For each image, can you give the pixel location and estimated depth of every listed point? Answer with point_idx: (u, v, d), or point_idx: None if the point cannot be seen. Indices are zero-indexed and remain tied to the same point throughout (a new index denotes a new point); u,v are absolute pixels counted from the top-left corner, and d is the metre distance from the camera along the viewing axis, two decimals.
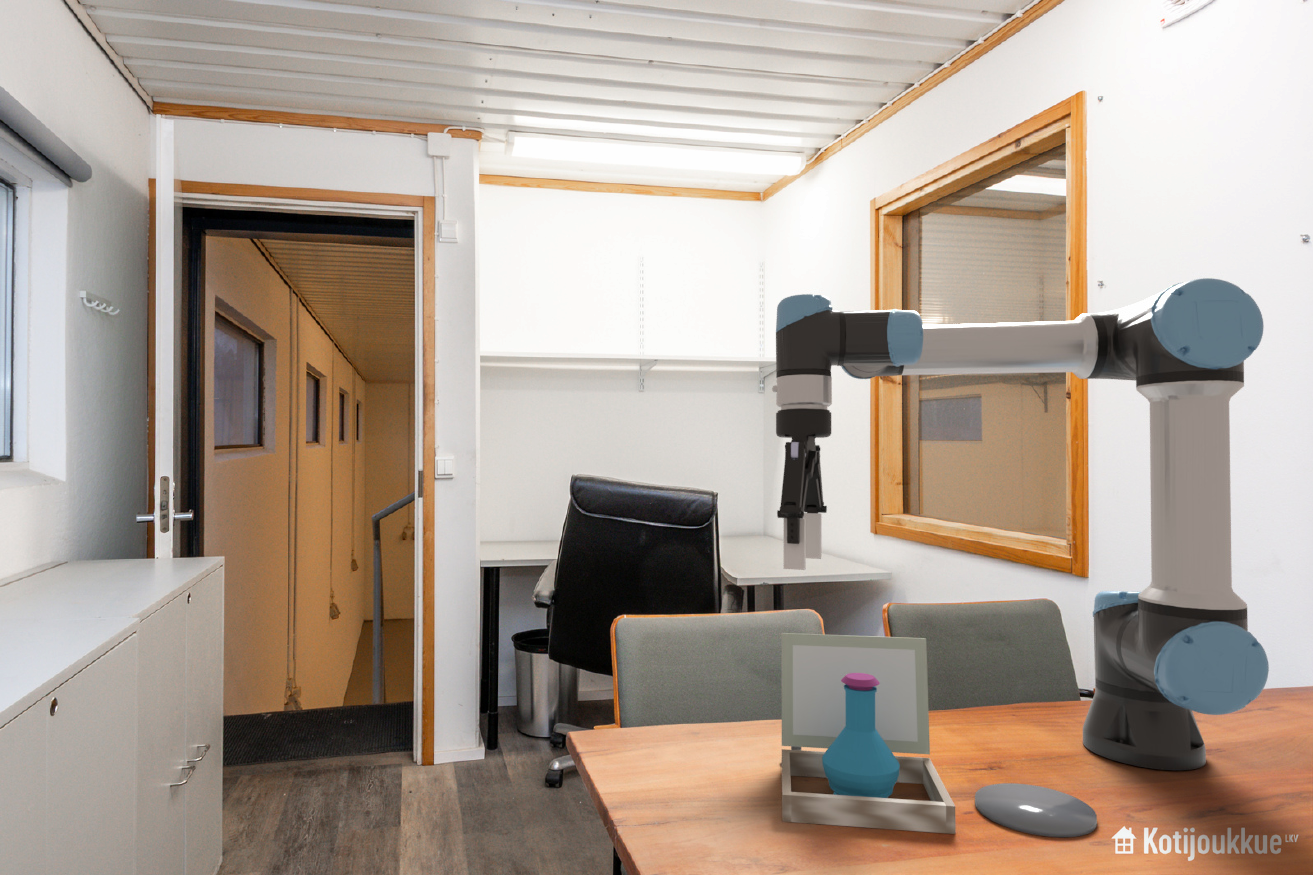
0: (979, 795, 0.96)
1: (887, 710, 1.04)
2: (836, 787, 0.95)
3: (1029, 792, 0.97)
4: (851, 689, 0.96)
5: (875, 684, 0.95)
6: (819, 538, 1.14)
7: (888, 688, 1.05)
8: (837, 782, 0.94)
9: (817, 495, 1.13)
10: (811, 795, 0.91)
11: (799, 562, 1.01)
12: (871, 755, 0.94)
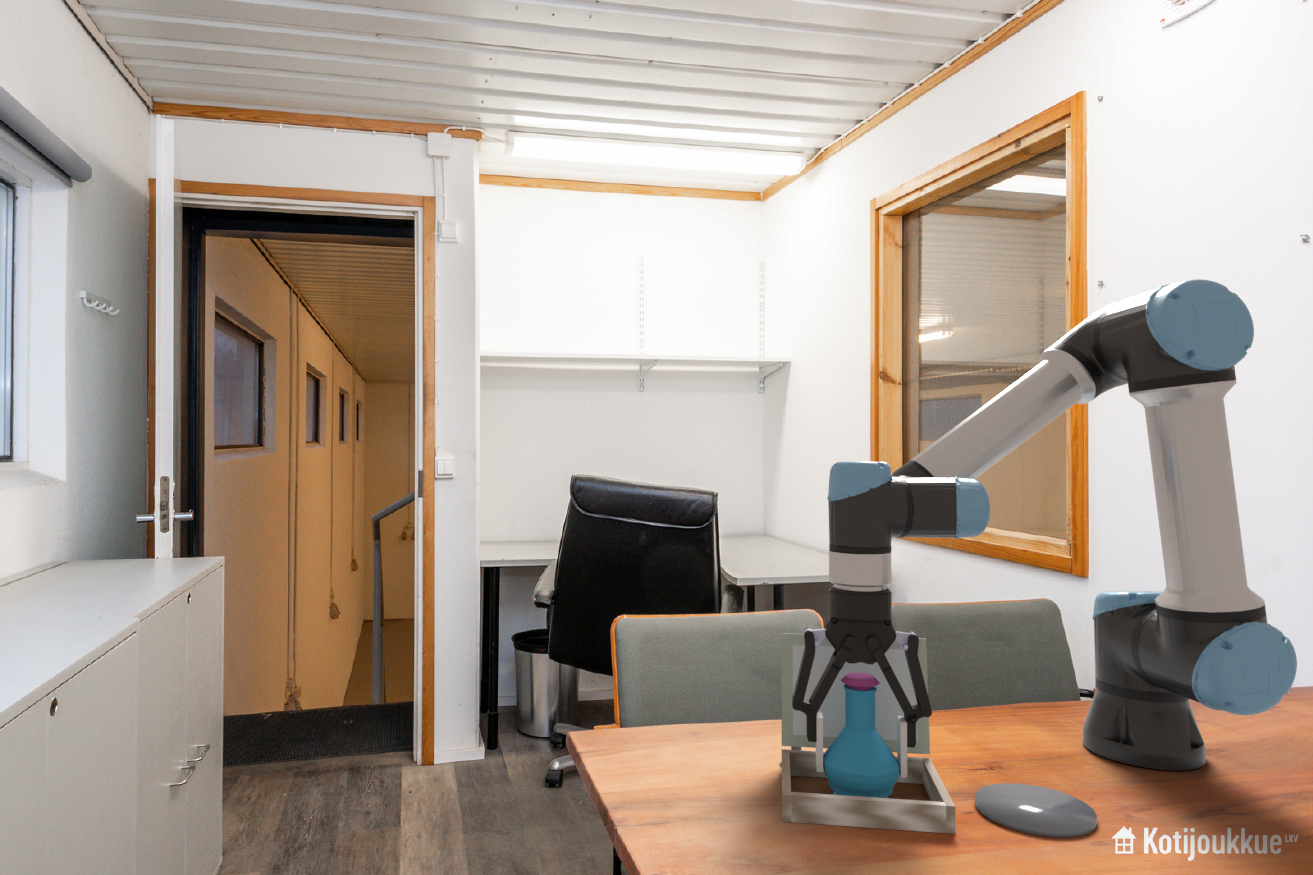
0: (979, 795, 0.96)
1: (887, 710, 1.04)
2: (836, 787, 0.95)
3: (1029, 792, 0.97)
4: (851, 689, 0.96)
5: (875, 684, 0.95)
6: (900, 752, 0.95)
7: (888, 688, 1.05)
8: (837, 782, 0.94)
9: None
10: (811, 795, 0.91)
11: (816, 762, 0.97)
12: (871, 755, 0.94)
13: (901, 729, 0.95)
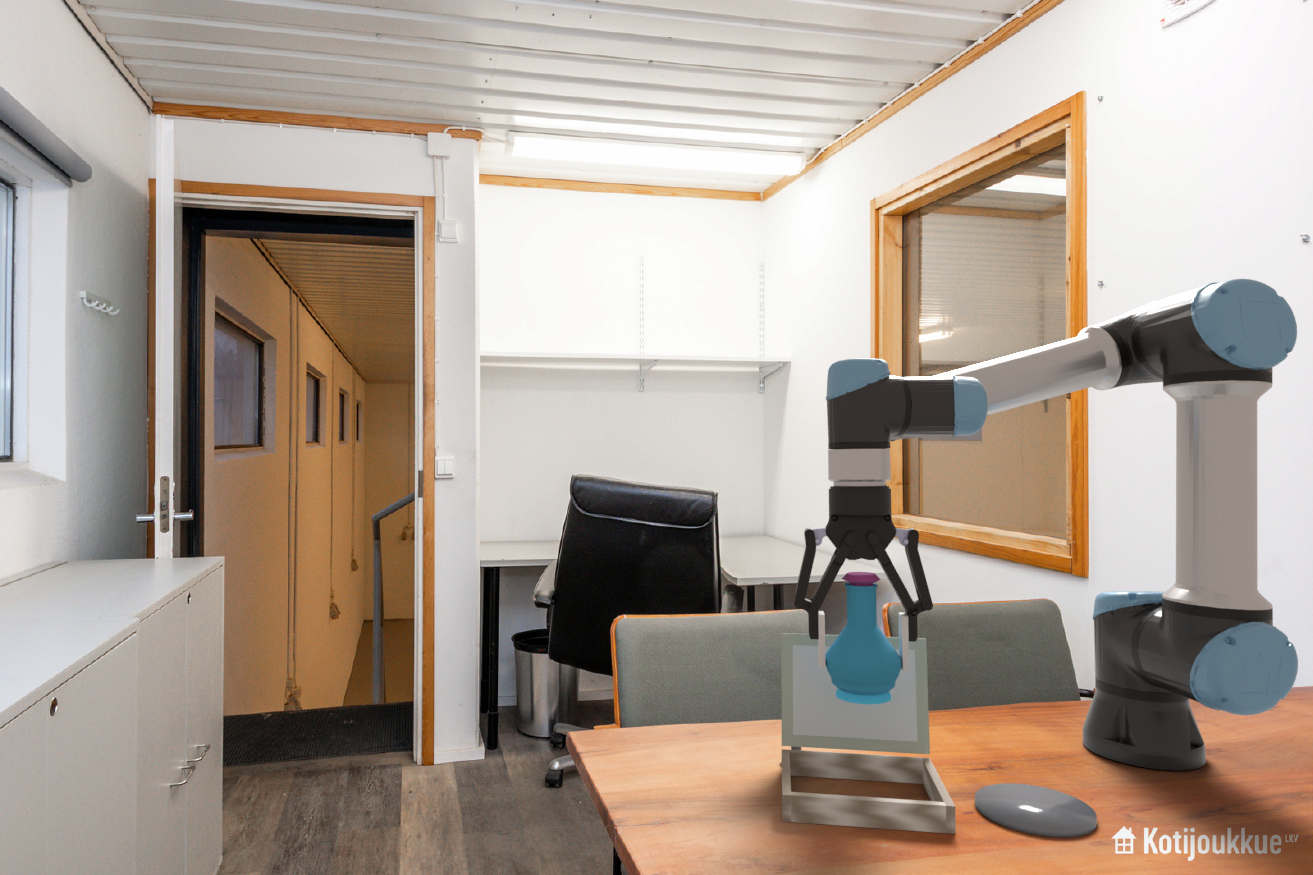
0: (979, 795, 0.96)
1: (887, 710, 1.04)
2: (839, 681, 0.95)
3: (1029, 792, 0.97)
4: (852, 585, 0.97)
5: (876, 579, 0.96)
6: (901, 645, 0.95)
7: None
8: (839, 676, 0.95)
9: (895, 589, 0.96)
10: (811, 795, 0.91)
11: None
12: (873, 648, 0.94)
13: (902, 623, 0.95)
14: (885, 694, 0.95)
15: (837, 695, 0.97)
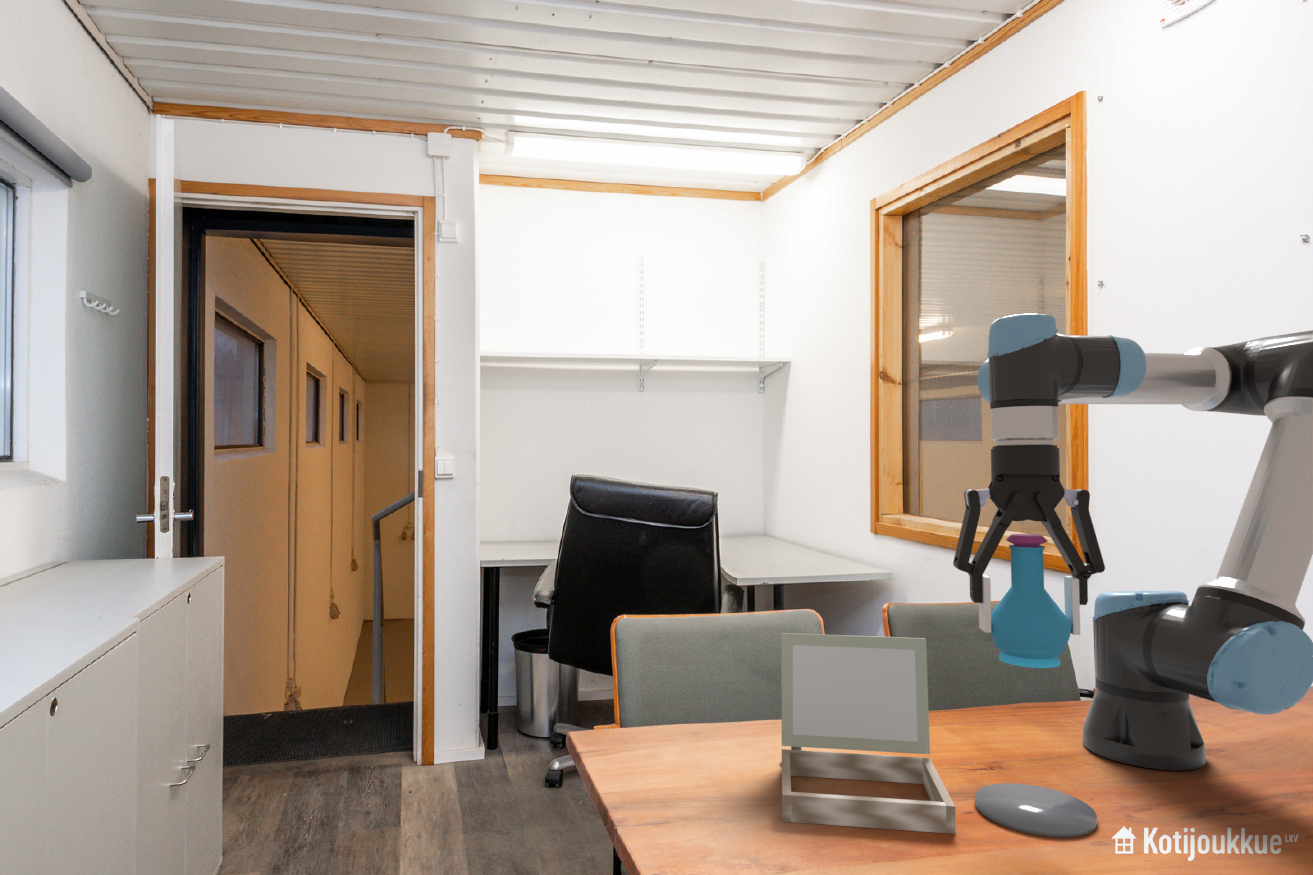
0: (979, 795, 0.96)
1: (887, 710, 1.04)
2: (1007, 645, 0.93)
3: (1029, 792, 0.97)
4: (1019, 547, 0.94)
5: (1045, 540, 0.93)
6: (1072, 609, 0.93)
7: (888, 688, 1.05)
8: (1009, 639, 0.92)
9: (1065, 551, 0.93)
10: (811, 795, 0.91)
11: (983, 623, 0.95)
12: (1044, 610, 0.91)
13: (1073, 586, 0.93)
14: (1055, 658, 0.92)
15: (1003, 659, 0.94)
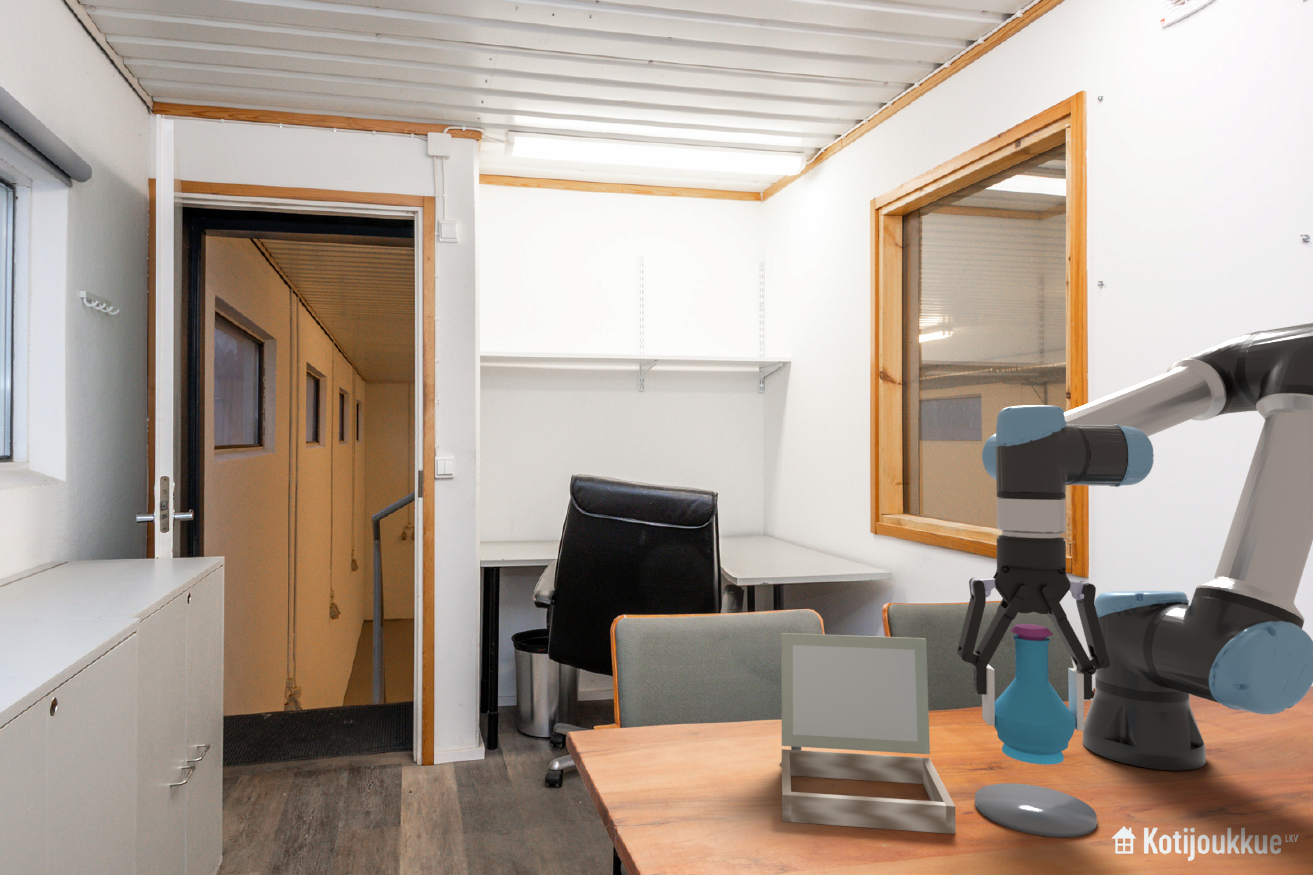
0: (979, 795, 0.96)
1: (887, 710, 1.04)
2: (1011, 739, 0.92)
3: (1029, 792, 0.97)
4: (1024, 639, 0.93)
5: (1050, 634, 0.93)
6: (1076, 704, 0.92)
7: (888, 688, 1.05)
8: (1013, 734, 0.91)
9: (1070, 645, 0.93)
10: (811, 795, 0.91)
11: (986, 715, 0.94)
12: (1049, 706, 0.91)
13: (1077, 680, 0.92)
14: (1059, 754, 0.92)
15: (1006, 753, 0.93)
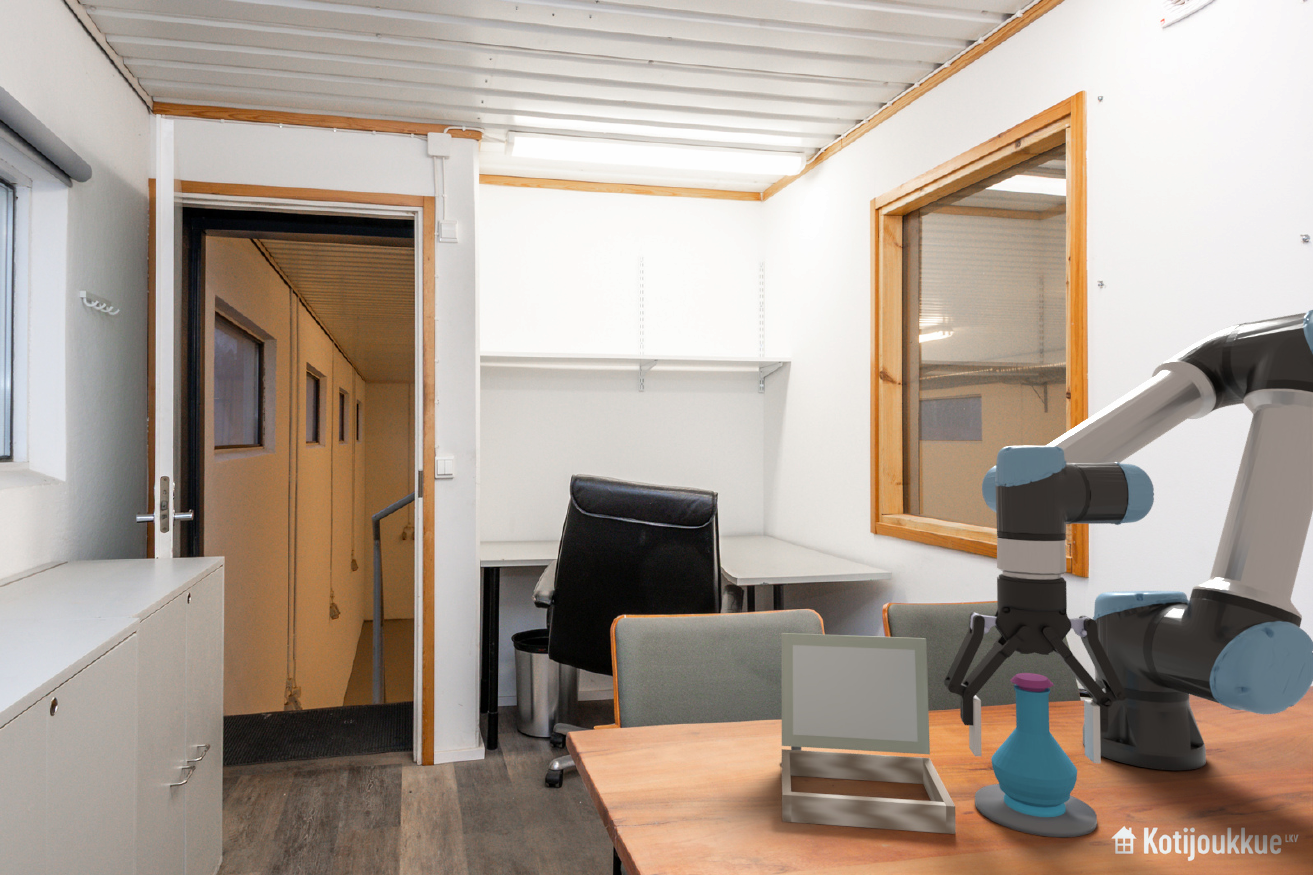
0: (979, 795, 0.96)
1: (887, 710, 1.04)
2: (1012, 792, 0.92)
3: None
4: (1024, 690, 0.93)
5: (1050, 685, 0.92)
6: (1092, 736, 0.92)
7: (888, 688, 1.05)
8: (1014, 787, 0.91)
9: (1082, 681, 0.92)
10: (811, 795, 0.91)
11: (973, 746, 0.94)
12: (1050, 758, 0.90)
13: (1093, 713, 0.92)
14: (1061, 805, 0.91)
15: (1008, 804, 0.93)
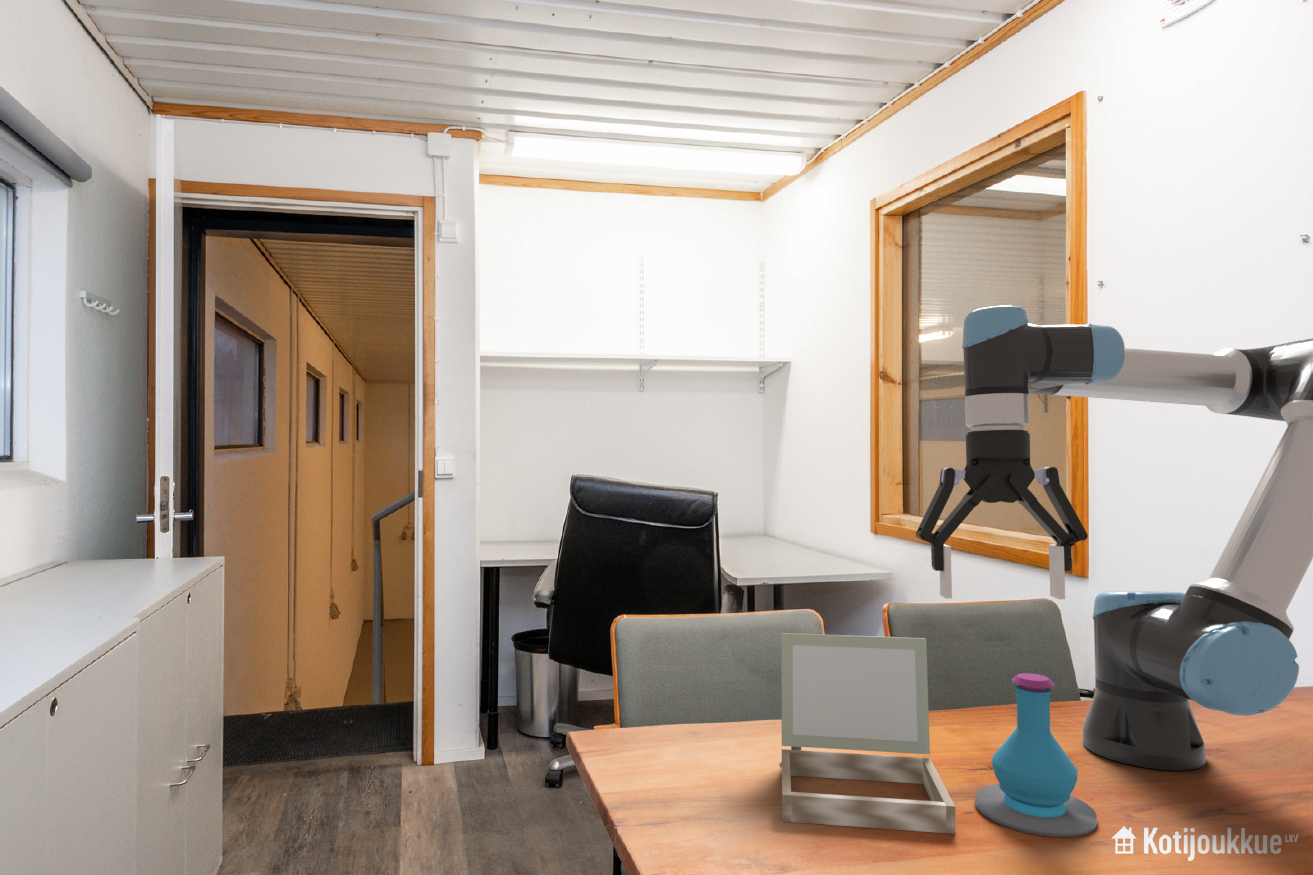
0: (979, 795, 0.96)
1: (887, 710, 1.04)
2: (1012, 791, 0.92)
3: None
4: (1025, 690, 0.93)
5: (1051, 685, 0.92)
6: (1057, 575, 0.98)
7: (888, 688, 1.05)
8: (1014, 786, 0.91)
9: (1046, 525, 0.99)
10: (811, 795, 0.91)
11: (944, 590, 1.00)
12: (1050, 758, 0.91)
13: (1058, 553, 0.98)
14: (1061, 806, 0.91)
15: (1008, 804, 0.93)
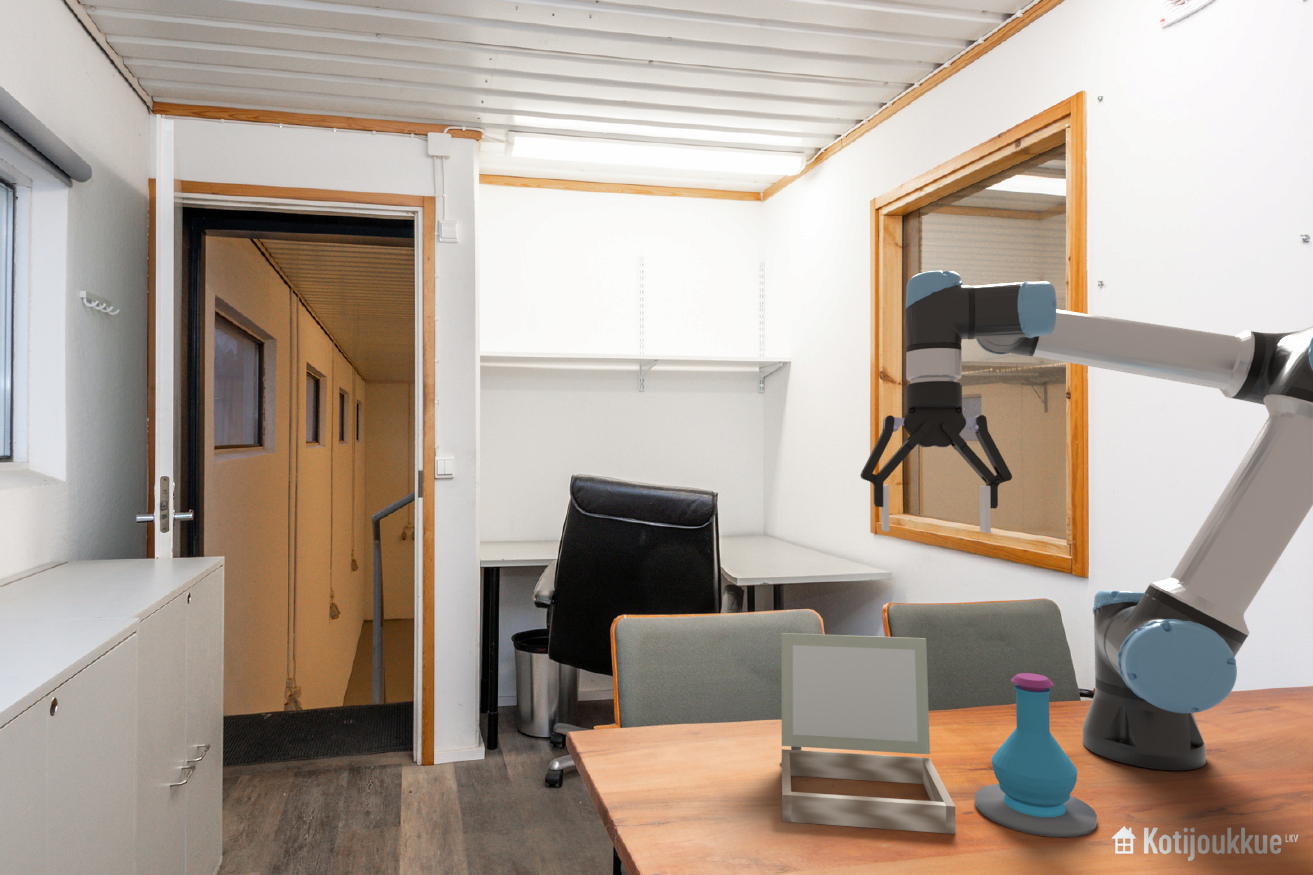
0: (979, 795, 0.96)
1: (887, 710, 1.04)
2: (1012, 791, 0.92)
3: None
4: (1025, 690, 0.93)
5: (1050, 685, 0.92)
6: (984, 511, 1.10)
7: (888, 688, 1.05)
8: (1014, 786, 0.91)
9: (975, 466, 1.10)
10: (811, 795, 0.91)
11: (883, 524, 1.12)
12: (1050, 758, 0.91)
13: (985, 492, 1.10)
14: (1061, 805, 0.91)
15: (1008, 804, 0.93)
